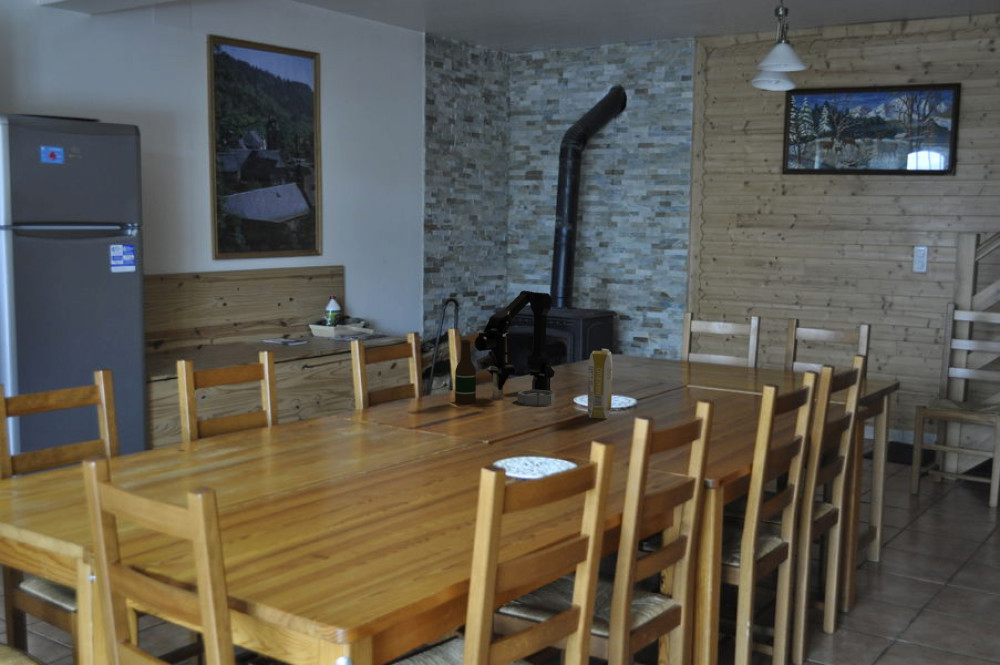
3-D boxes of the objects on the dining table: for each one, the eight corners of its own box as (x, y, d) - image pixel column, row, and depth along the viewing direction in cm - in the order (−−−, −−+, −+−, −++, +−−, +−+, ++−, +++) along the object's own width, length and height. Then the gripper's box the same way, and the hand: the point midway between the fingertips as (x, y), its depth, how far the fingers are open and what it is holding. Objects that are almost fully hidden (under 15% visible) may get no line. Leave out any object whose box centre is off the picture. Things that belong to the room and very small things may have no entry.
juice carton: (609, 419, 342) (611, 351, 339) (586, 418, 344) (588, 350, 341) (611, 414, 351) (613, 347, 349) (589, 413, 353) (591, 346, 350)
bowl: (542, 399, 379) (542, 388, 378) (559, 405, 367) (559, 394, 367) (512, 401, 373) (512, 391, 373) (528, 407, 362) (529, 397, 361)
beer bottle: (476, 402, 371) (477, 338, 368) (474, 406, 363) (475, 341, 360) (456, 401, 371) (456, 338, 368) (453, 405, 364) (453, 340, 361)
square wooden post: (499, 397, 378) (500, 371, 377) (503, 398, 376) (503, 372, 375) (492, 397, 377) (492, 371, 376) (496, 399, 374) (496, 373, 373)
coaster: (503, 396, 382) (503, 395, 382) (513, 400, 374) (513, 399, 374) (482, 398, 378) (482, 396, 378) (492, 402, 370) (492, 401, 370)
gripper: (468, 346, 379) (468, 386, 381) (490, 353, 362) (489, 394, 364) (494, 345, 384) (494, 384, 386) (517, 351, 367) (516, 392, 369)
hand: (498, 389), depth 376 cm, fingers closed on square wooden post, 3 cm apart
